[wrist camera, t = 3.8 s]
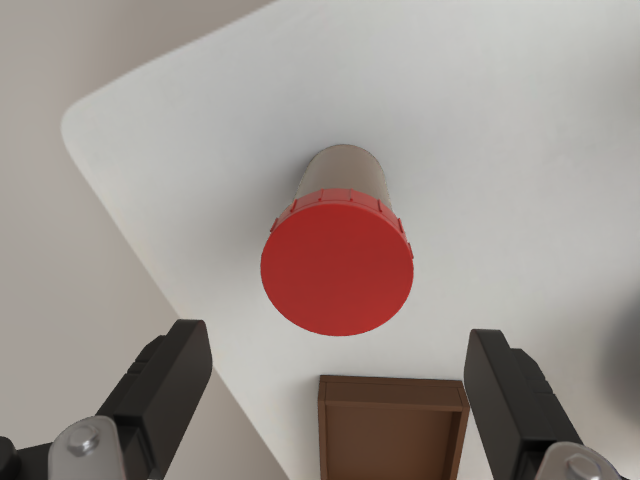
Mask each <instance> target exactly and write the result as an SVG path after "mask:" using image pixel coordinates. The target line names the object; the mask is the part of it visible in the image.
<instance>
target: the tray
mask: <svg viewBox="0 0 640 480" xmlns="http://www.w3.org/2000/svg"><path fill="white" fill-rule="evenodd" d="M469 411H470V405H469V402H468V398H467V395H466V392H465V389H464V386H463V383H462V381H452V380H428V379H403V378H379V377H354V376H330V375H320V383H319V391H318V423H319V447H320V471H321V480H456V478H457V473H458V468H459V463H460V458H461V453H462V447H463V442H464V437H465V432H466V427H467V422H468V417H469Z"/></svg>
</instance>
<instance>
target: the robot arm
mask: <svg viewBox="0 0 640 480" xmlns="http://www.w3.org/2000/svg"><path fill="white" fill-rule="evenodd" d="M211 372H212V354H211V349H210V344H209V339H208V334H207V329H206V324H205V322H204V321H203V320H189V319H179V320H177V321H176V322H175V323H174V325H173V326H172V328H171V329H170V331H169V332H168V334H167V335H166V336H165V335H163V336H162V335H160V336H158V337H157V338H156V339H154V340H153V341H152V342H150V343H149V344H148V345H146V346H145V347H144V349H143V350H142V351H141V353H140V354H139V355H138V357H137V358H136V359H135V362H134V363H133V364H132V365H131V366H130V368H129V369H128V371H127V374H125V375H124V376H123V377H122V379H121V380H120V381H119V383H118V384H117V386H116V387H115V388H114V390H113V391H112V392H111V394H110V395H109V397H108V398H107V399H106V401H105V402H104V403H103V405H102V406H101V408H100V409H99V410H98V412H97V413H96V414H95V416H91V417H87V418H85V419H82V420H80V421H78V422H76V423H74V424H72V425H70V426H69V427H68V428H66V429H65V430H64V431H63V432H62V433H61V434H60V435H59V436H58V437H57V438H56V439H55V440H54V442H51V443H47V444H42V445H38V446H34V447H29V448H24V449H20V450H16V449H15V447H14V445H13V443H12V442H11V440H10V439H8V438H6V437H2V436H0V480H147V479H152V480H163V479H164V477H165V475H166V473H167V471H168V468H169V466H170V464H171V462H172V460H173V458H174V455H175V453H176V451H177V449H178V447H179V444H180V442H181V440H182V438H183V436H184V433H185V431H186V429H187V427H188V425H189V423H190V420H191V418H192V416H193V414H194V412H195V410H196V407H197V405H198V403H199V401H200V398H201V396H202V394H203V392H204V390H205V388H206V385H207V383H208V381H209V379H210V376H211ZM464 385H465V390H466V393H467V397H468V400H469V403H470V406H471V409H472V412H473V415H474V419H475V422H476V425H477V428H478V431H479V434H480V437H481V441H482V444H483V447H484V450H485V453H486V456H487V459H488V463H489V466H490V469H491V472H492V475H493V478H494V480H629V479H627V478H624V477H622V476H620V475H619V473H618V472H617V470H616V469H615V468H614V466H613V465H612V464H611V463H610V462H609V461H608V460H606V459H605V458H604V457H603V456H601V455H600V454H599V453H597V452H596V451H594V450H592V449H590V448H588V447H586V446H584V444H583V442H582V441H581V439H580V437H579V435H578V434H577V432H576V430H575V428H574V427H573V425H572V423H571V422H570V420H569V418H568V416H567V415H566V413H565V411H564V409H563V408H562V406H561V404H560V402H559V401H558V399H557V397H556V396H555V394H553V390H552V389H551V387H550V385H549V383H548V382H547V381H546V380H545V376H544V375H543V373H542V371H541V369H540V368H539V366H538V364H537V363H536V362H535V361H534V360H533V359H532V358H531V357H530V356H529V355H528V354H526V353H525V352H524V351H523V350H522V349H514V348H510V346H509V345H508V343H507V341H506V339H505V337H504V335H503V333H502V332H501V331H500V330H490V329H472V330H471V332H470V337H469V343H468V349H467V355H466V360H465V366H464Z"/></svg>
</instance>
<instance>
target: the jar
mask: <svg viewBox="0 0 640 480" xmlns="http://www.w3.org/2000/svg"><path fill="white" fill-rule="evenodd" d="M321 188H323V189H334V188H340V189H351V188H353V190H355V191H359V192H362V193H365V194H367V195H369V196H372V197H374V198H375V199H377V200H378V199H380V200H381V202H382V203H383V204H384V205H385V206H387V207H388V208H389V209H390V210H391V211H392V207H391V203H390V198H389V194H388V190H387V186H386V181H385V177H384V173H383V170H382V168H381V166H380V164H379V163H378V161H377V160H376V159H375V157H374V156H372V155H371V154H370V153H369V152H367V151H366V150H364V149H362V148H360V147H357V146H353V145H344V144H343V145H335V146H331V147H329V148H326V149H324V150H322V151H321V152H319V153H318V154H317V155H316V156H315V157H314V158H313V159H312V160H311V161H310V163H309V165H308V166H307V169H306V171H305V173H304V175H303V178H302V180H301V183H300V185H299V187H298V190H297V192H296V194H295V197H294V199H293V201H294V200H295V199H297V200H298V199H299V198H301V197H303V196H305V195H307V194H309V193H313V192H316V191H319V190H321ZM293 201H292V203H293ZM392 212H393V211H392Z"/></svg>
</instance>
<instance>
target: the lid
mask: <svg viewBox="0 0 640 480" xmlns="http://www.w3.org/2000/svg"><path fill="white" fill-rule="evenodd" d="M270 232H271V234H270V236H269V238H268V240H267V242H266V244H265V247H264V249H263V252H262V254H261V256H262V257H261V265H260V267H261V278H262V283H263V286H264V289H265V291H266V293H267V295H268V298H269V299H270V301H271V302H272V304H273V305H274V306H275V308H276V309H277V310H278V311H279V312H280V313H281V314H282V315H283V316H284V317H285V318H287V319H288V320H289V321H291V322H292V323H294V324H296V325H297V326H299V327H301V328H303V329H306V330H308V331H311V332H314V333H318V334H322V335H328V336H350V335H356V334H360V333H364V332H367V331H370V330H373V329H375V328H377V327H379V326H381V325H382V324H384V323H385V322H387V321H388V320H389V319H390V318H392V317H393V316H394V315H395V314H396V313H397V312H398V311H399V310H400V308H401V307H402V306H403V304H404V303H405V301H406V299H407V297H408V295H409V293H410V290H411V287H412V282H413V270H414V268H413V261H412V259H414V257H413V253H412V250H411V246H410V243H408V242H407V238H406V235H405V232H404V229H403V227H402V223H401V220H400V218H399V219H397V217H396V216H395V215H394V213H393V212H392V211H391V210H390V209H389V208H388V207H387V206H385V205H384V204H383V203H382V202H381V200H380V199H378V200H377V199H375V198H374V197H372V196H369V195H367V194H365V193H362V192H359V191H355V190H353V188H351V189H340V188H334V189H323V188H321V190H319V191H316V192H313V193H309V194H307V195H305V196H303V197H301V198H299V199H298V200H297V199H295V200H294V201H293V203H292V204H291V205H290V206H288V207H287V208H286V209H285V210H284V212H283V213H282V214H281V215H280V217H279V218H276V219H275V221H274V223H273V225H272V228H271V230H270Z"/></svg>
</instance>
